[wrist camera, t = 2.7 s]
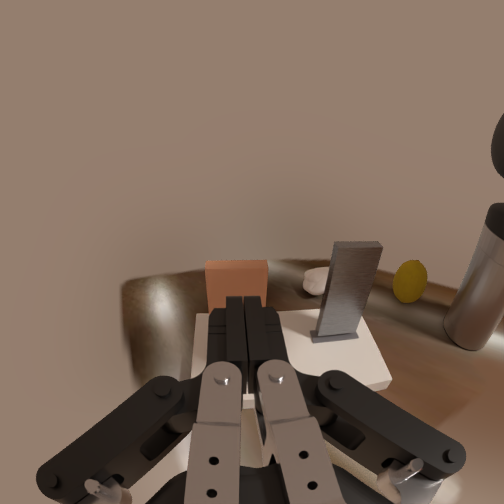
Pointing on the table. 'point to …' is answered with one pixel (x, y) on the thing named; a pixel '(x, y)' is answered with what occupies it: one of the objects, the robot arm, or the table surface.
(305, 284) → the dumpling
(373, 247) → the grey paddle
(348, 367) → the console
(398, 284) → the lemon
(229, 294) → the terracotta paddle
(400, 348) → the table surface
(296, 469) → the robot arm
